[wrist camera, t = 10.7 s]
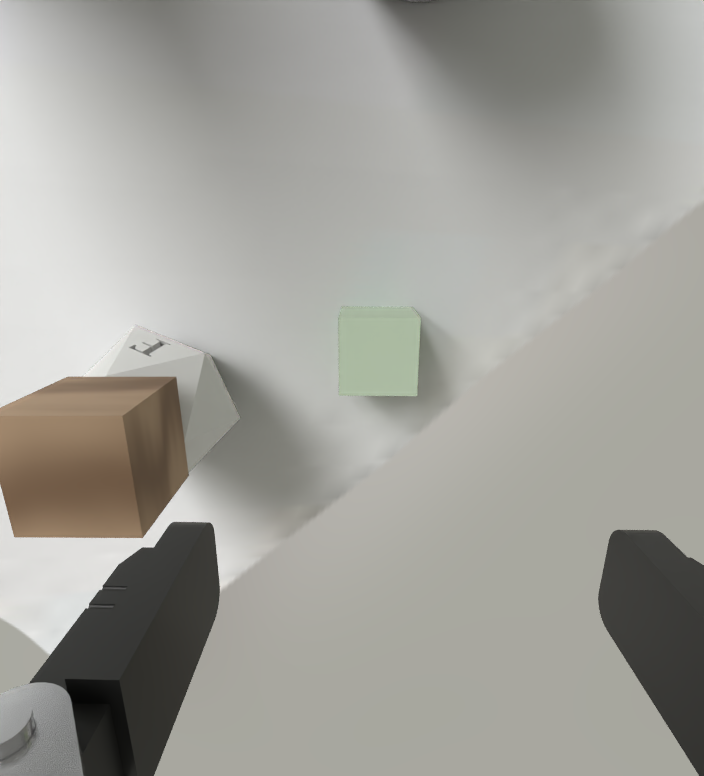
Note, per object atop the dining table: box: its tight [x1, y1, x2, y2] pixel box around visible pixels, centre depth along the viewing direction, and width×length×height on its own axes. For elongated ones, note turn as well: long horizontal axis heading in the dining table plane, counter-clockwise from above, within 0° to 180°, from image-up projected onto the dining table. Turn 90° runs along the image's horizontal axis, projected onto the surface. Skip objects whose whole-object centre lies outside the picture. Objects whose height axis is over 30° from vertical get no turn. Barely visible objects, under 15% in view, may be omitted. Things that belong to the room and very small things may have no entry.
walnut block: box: [0, 377, 189, 538], centre depth 21 cm, size 6×6×6 cm
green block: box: [338, 307, 421, 396], centre depth 28 cm, size 4×4×4 cm
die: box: [82, 325, 240, 473], centre depth 28 cm, size 8×9×10 cm
